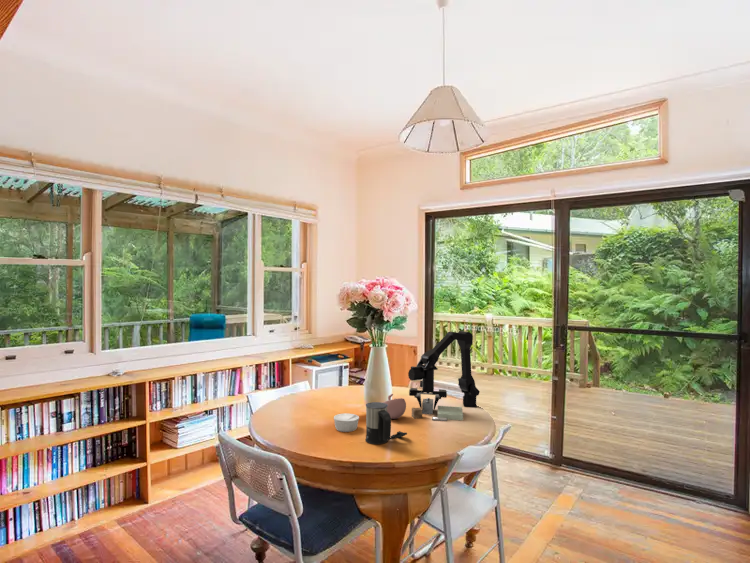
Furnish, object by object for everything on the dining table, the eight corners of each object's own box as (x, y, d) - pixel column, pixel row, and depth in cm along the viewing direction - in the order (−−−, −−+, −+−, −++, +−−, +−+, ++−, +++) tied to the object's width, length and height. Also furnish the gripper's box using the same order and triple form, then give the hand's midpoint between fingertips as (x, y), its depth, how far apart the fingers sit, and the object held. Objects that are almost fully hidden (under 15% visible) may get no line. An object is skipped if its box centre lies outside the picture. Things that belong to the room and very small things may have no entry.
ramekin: (360, 432, 193) (360, 420, 193) (334, 433, 191) (334, 421, 191) (357, 424, 204) (357, 412, 204) (332, 425, 202) (332, 413, 202)
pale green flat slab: (461, 411, 226) (461, 406, 226) (463, 420, 212) (463, 414, 212) (437, 410, 228) (437, 405, 228) (437, 418, 214) (437, 413, 214)
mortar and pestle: (397, 413, 222) (398, 390, 222) (410, 420, 211) (411, 396, 211) (376, 416, 216) (376, 392, 216) (388, 423, 206) (388, 398, 206)
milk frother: (360, 440, 183) (360, 404, 183) (385, 431, 195) (385, 397, 195) (386, 449, 174) (387, 411, 174) (411, 439, 185) (411, 403, 185)
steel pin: (447, 421, 212) (447, 417, 212) (447, 421, 210) (447, 417, 211) (432, 420, 213) (432, 417, 213) (432, 420, 211) (432, 416, 212)
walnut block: (419, 415, 219) (419, 407, 219) (422, 418, 215) (422, 410, 215) (411, 416, 218) (411, 408, 218) (414, 418, 214) (414, 410, 214)
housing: (433, 410, 229) (433, 398, 229) (432, 414, 221) (432, 402, 221) (423, 409, 230) (423, 397, 230) (422, 414, 222) (422, 401, 222)
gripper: (446, 376, 232) (446, 406, 232) (410, 374, 235) (410, 404, 235) (446, 381, 221) (446, 412, 221) (409, 379, 224) (408, 410, 224)
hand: (427, 409), depth 225 cm, fingers open, 6 cm apart
